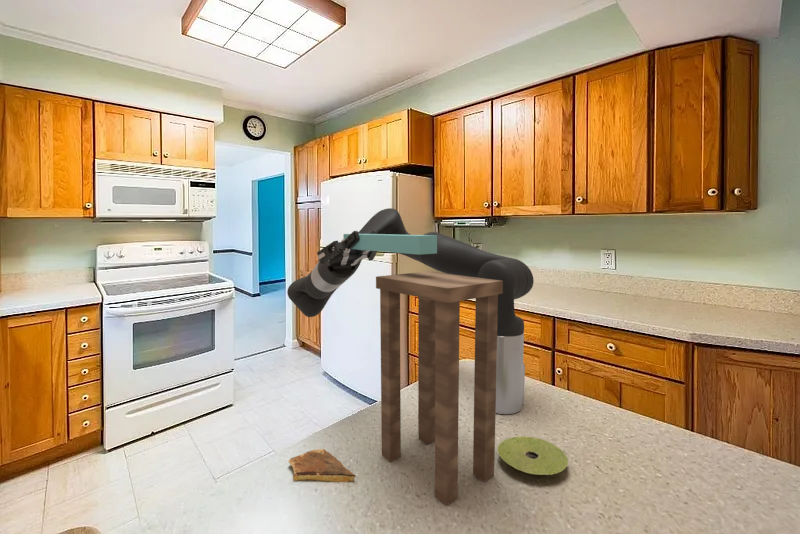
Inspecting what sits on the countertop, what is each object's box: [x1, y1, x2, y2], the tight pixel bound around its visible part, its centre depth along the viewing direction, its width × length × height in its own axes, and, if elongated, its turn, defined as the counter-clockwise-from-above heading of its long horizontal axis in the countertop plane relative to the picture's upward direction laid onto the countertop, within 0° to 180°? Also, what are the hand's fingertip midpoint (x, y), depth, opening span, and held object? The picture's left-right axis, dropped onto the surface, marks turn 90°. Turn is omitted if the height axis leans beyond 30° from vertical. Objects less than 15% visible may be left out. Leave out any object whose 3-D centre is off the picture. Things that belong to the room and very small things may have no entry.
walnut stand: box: [375, 270, 503, 507], centre depth 64 cm, size 12×17×32 cm
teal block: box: [343, 233, 437, 255], centre depth 73 cm, size 4×24×3 cm, turn 38°
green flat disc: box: [497, 436, 569, 476], centre depth 66 cm, size 11×11×2 cm
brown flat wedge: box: [288, 448, 357, 483], centre depth 63 cm, size 11×8×2 cm
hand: (367, 234), depth 78 cm, fingers closed on teal block, 4 cm apart
